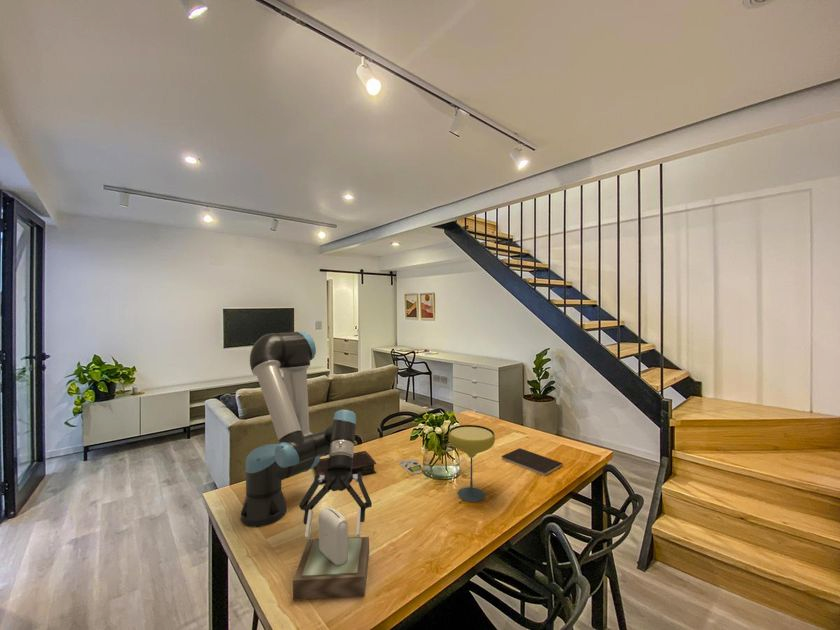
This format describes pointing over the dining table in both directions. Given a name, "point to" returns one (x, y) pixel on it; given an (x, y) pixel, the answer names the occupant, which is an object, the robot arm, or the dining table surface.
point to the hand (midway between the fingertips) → (332, 536)
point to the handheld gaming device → (415, 464)
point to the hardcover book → (532, 461)
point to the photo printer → (333, 535)
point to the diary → (360, 464)
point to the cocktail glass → (471, 452)
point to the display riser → (332, 572)
